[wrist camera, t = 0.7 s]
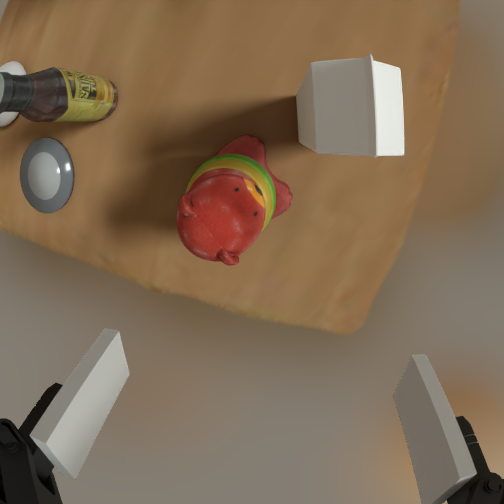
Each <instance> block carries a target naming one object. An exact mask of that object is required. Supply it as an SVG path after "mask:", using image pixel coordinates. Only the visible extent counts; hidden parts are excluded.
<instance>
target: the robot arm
mask: <svg viewBox="0 0 504 504" xmlns="http://www.w3.org/2000/svg"><path fill="white" fill-rule="evenodd" d="M129 374H130V373H129V369H128V366H127V362H126V358H125V355H124V350H123V346H122V342H121V338H120V333H119V331H116V330H111V329H106V328H105V329H104V330H103V331H102V333H101V334H100V335H99V337H98V338H97V339H96V341H95V342H94V343H93V345H92V346H91V347H90V349H89V350H88V352H87V353H86V354H85V355H84V357H83V358H82V359H81V361H80V362H79V364H78V365H77V366H76V368H75V369H74V370H73V372H72V373H71V375H70V376H69V377H68V379H67V380H66V382H65V383H64V385H61V384H58V383H55V384H53V385H52V386H51V387H49V388H48V389H47V390H46V391H45V392H44V394H43V395H42V397H41V399H40V400H39V401H38V402H37V404H36V406H35V407H34V408H33V409H32V411H31V412H30V414H29V415H28V416H27V418H26V420H25V421H24V422H23V424H22V425H21V427H20V428H19V430H18V429H17V428H16V426H15V425H14V424H13V423H12V422H11V421H10V420H8V419H0V504H63V503H62V501H61V497H60V494H59V491H58V488H57V485H56V481H55V478H54V475H53V473H52V469H53V468H54V467H55V468H56V469H57V470H58V471H59V472H60V473H61V474H63V475H66V476H68V477H70V478H72V479H74V480H75V479H76V477H77V476H78V473H79V471H80V469H81V467H82V465H83V463H84V461H85V459H86V457H87V455H88V453H89V451H90V449H91V447H92V445H93V443H94V441H95V438H96V437H97V435H98V433H99V431H100V429H101V427H102V425H103V423H104V421H105V419H106V418H107V416H108V414H109V412H110V410H111V408H112V406H113V404H114V402H115V400H116V399H117V397H118V395H119V393H120V391H121V389H122V387H123V385H124V383H125V382H126V380H127V378H128V376H129ZM393 398H394V401H395V404H396V408H397V411H398V414H399V417H400V420H401V424H402V428H403V431H404V435H405V438H406V442H407V446H408V449H409V453H410V457H411V461H412V465H413V468H414V473H415V477H416V481H417V485H418V489H419V494H420V498H421V503H422V504H442V503H443V502H445V501H446V500H447V502H448V504H504V479H502V478H501V477H500V476H499V475H497V474H496V473H492V472H490V470H489V469H488V466H487V463H486V461H485V458H484V456H483V453H482V451H481V448H480V446H479V443H477V439H476V436H474V432H473V429H472V427H471V425H470V423H469V422H468V421H467V420H466V419H465V418H464V417H463V416H460V417H455V416H454V413H453V411H452V409H451V406H450V404H449V402H448V400H447V398H446V395H445V393H444V391H443V389H442V387H441V385H440V383H439V380H438V379H437V376H436V374H435V372H434V370H433V368H432V366H431V364H430V362H429V360H428V358H427V356H426V354H417V355H411V357H410V360H409V362H408V364H407V366H406V369H405V371H404V373H403V375H402V378H401V380H400V382H399V384H398V386H397V388H396V390H395V392H394V394H393Z"/></svg>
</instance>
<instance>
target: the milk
mask: <svg viewBox="0 0 504 504" xmlns="http://www.w3.org/2000/svg"><path fill="white" fill-rule="evenodd" d="M296 102H297V118H298V137H299V143H301V144H302V145H304V146H306V147H308V148H309V149H311V150H313V151H314V152H316V153H320V154H343V155H361V156H370V157H374V158H376V157H377V156H399V155H404V117H403V97H402V83H401V72H400V68H398V67H395V66H391V65H388V64H384V63H381V62H377V61H373V57H372V55H371V54H368V55H367V56H366V57H364V58H357V59H341V60H328V61H318V62H312V63H311V64H310V66H309V69H308V71H307V73H306V75H305V77H304V79H303V82H302V84H301V86H300V88H299V90H298V93H297V95H296Z"/></svg>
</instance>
